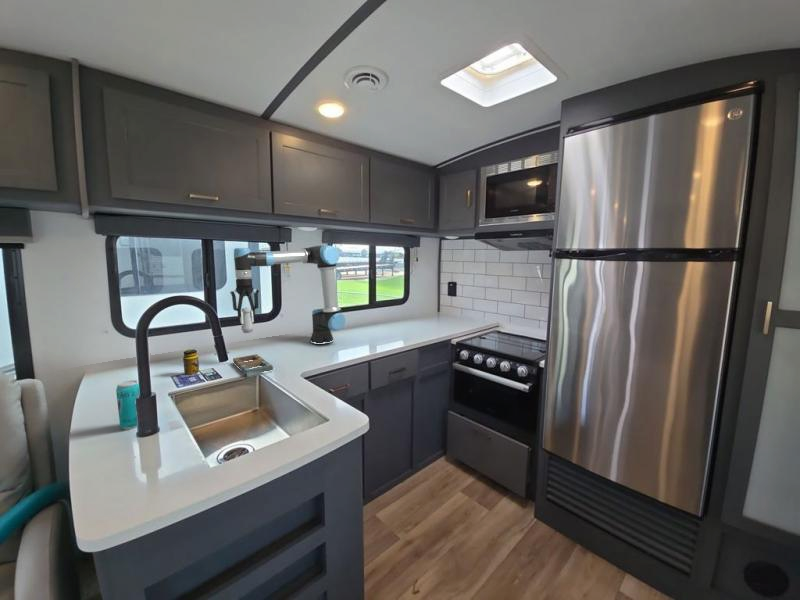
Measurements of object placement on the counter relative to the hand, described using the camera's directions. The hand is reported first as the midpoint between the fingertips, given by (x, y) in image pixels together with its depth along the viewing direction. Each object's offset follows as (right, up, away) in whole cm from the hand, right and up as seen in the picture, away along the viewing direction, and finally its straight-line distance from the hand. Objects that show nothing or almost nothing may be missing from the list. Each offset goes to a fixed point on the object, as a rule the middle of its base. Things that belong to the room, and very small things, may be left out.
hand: (247, 322), depth 166 cm
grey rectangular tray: (+4, -23, -2) cm, 24 cm away
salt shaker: (0, -5, +1) cm, 5 cm away
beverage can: (-9, -31, -60) cm, 68 cm away
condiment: (-21, -25, -13) cm, 35 cm away
